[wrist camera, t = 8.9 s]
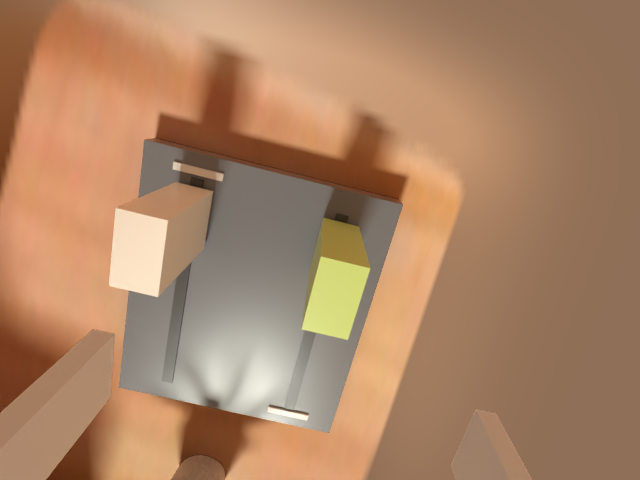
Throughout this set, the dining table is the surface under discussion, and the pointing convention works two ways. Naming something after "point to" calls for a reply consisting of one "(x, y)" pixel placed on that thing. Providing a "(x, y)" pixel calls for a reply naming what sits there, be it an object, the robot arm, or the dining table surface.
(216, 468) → the house plant
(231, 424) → the dining table surface
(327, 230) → the fader lime
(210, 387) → the mixing board
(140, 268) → the fader cream
